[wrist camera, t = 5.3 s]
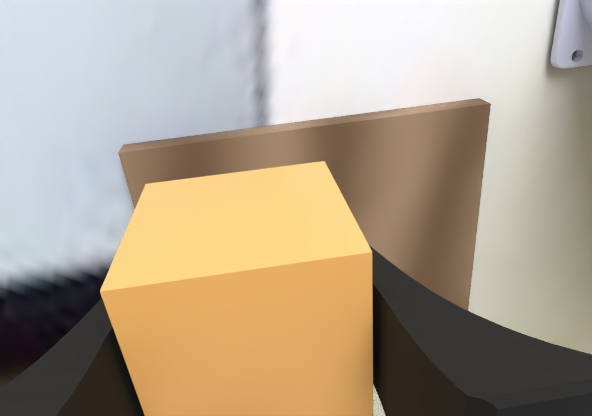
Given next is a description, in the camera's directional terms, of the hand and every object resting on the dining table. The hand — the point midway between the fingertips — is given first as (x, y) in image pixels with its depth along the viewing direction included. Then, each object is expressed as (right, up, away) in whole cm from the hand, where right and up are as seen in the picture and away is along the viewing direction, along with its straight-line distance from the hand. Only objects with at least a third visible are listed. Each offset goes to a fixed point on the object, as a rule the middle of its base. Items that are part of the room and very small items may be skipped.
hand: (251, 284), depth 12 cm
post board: (+3, -1, +11) cm, 11 cm away
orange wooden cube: (0, +1, +2) cm, 2 cm away
